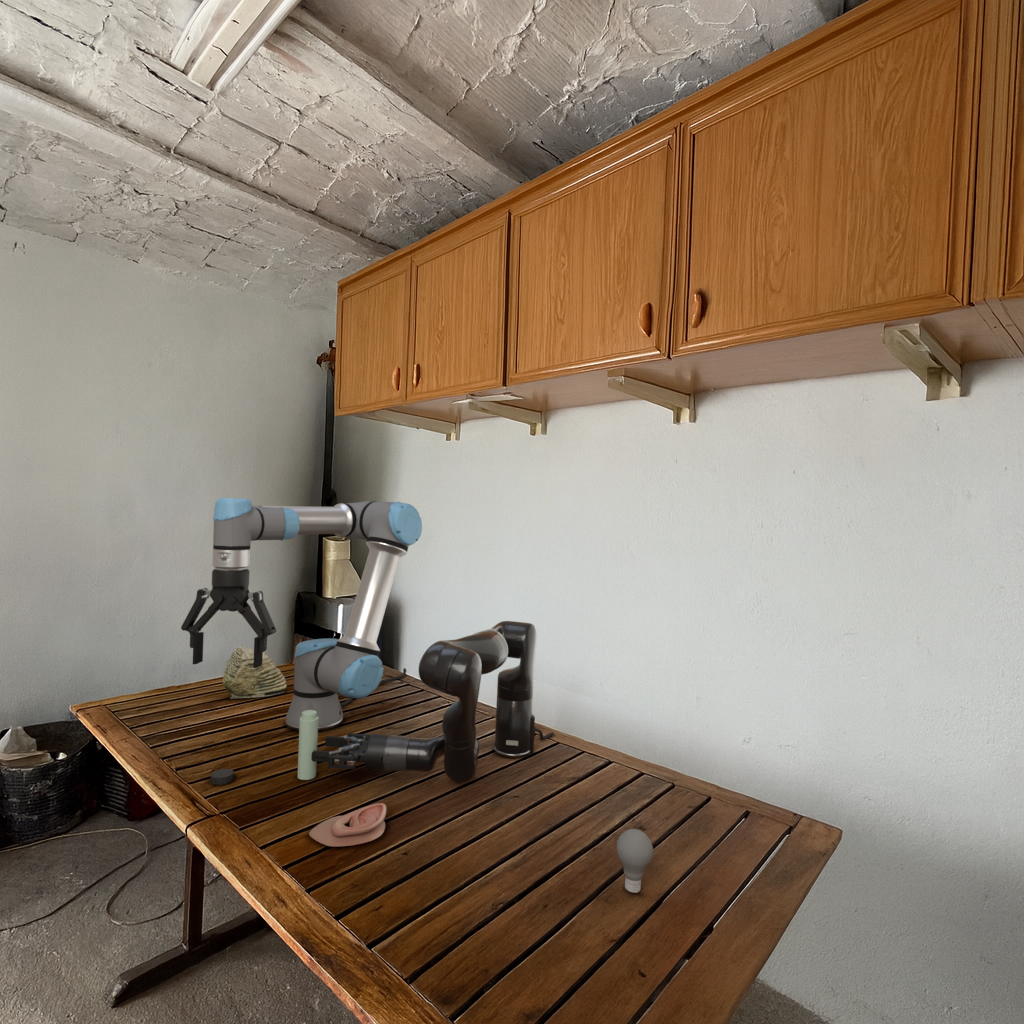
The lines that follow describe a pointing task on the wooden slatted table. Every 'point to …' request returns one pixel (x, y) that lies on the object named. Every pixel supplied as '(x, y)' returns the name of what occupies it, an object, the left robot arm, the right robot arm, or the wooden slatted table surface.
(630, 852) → the light bulb
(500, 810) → the wooden slatted table surface
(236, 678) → the fossil
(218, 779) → the lid
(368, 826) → the anatomical model
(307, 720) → the bottle
